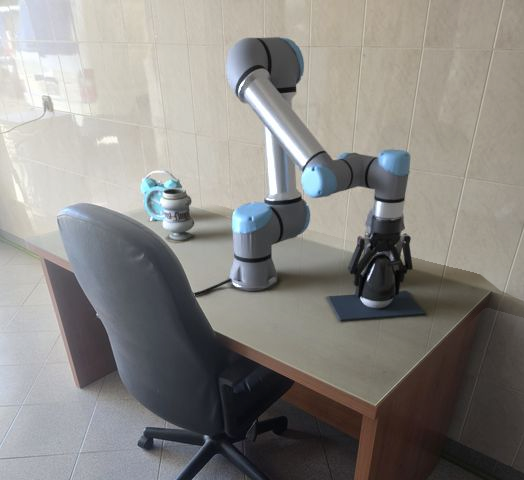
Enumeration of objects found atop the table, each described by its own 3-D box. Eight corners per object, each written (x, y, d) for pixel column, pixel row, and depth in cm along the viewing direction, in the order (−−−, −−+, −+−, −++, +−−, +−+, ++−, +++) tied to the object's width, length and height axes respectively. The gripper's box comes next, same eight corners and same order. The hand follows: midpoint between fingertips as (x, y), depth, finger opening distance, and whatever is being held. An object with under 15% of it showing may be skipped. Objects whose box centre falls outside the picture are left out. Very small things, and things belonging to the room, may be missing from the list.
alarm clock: (141, 222, 199) (133, 173, 188) (149, 215, 207) (142, 167, 196) (180, 223, 196) (175, 174, 185) (187, 216, 204) (182, 168, 193)
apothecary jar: (159, 236, 184) (152, 189, 174) (186, 230, 190) (181, 184, 180) (173, 245, 175) (167, 197, 166) (201, 238, 181) (197, 191, 171)
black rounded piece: (386, 316, 127) (394, 264, 119) (351, 307, 132) (356, 256, 123) (399, 301, 134) (407, 251, 126) (365, 293, 139) (370, 244, 131)
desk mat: (340, 321, 126) (340, 319, 126) (327, 298, 138) (328, 296, 138) (425, 315, 129) (425, 313, 128) (405, 292, 140) (406, 290, 140)
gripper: (423, 209, 123) (410, 285, 135) (339, 213, 121) (333, 291, 133) (435, 218, 117) (420, 297, 129) (347, 223, 115) (340, 303, 127)
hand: (376, 294), depth 131 cm, fingers closed on black rounded piece, 10 cm apart
